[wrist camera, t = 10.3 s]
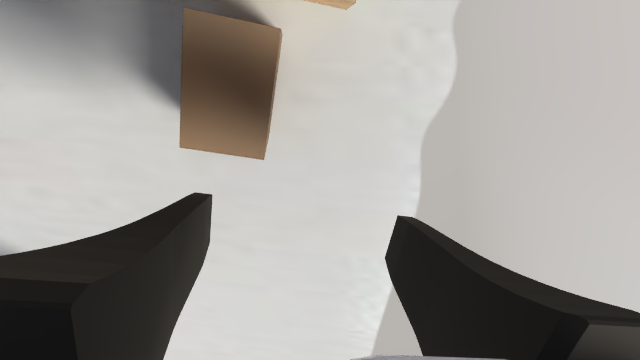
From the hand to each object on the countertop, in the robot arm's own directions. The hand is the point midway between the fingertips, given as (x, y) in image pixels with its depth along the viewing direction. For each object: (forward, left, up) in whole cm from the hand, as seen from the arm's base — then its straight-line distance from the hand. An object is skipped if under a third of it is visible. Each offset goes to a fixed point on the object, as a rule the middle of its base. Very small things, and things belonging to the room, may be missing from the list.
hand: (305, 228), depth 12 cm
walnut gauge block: (+4, +4, -10) cm, 11 cm away
